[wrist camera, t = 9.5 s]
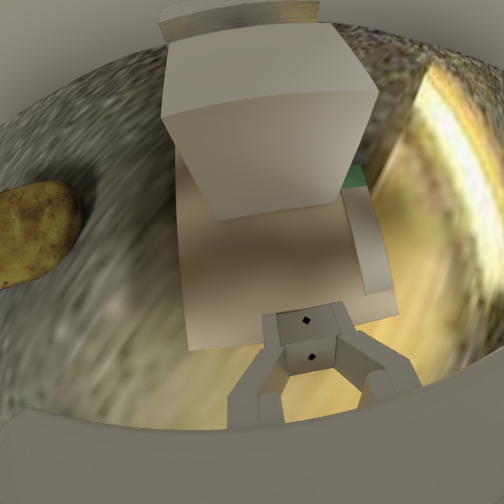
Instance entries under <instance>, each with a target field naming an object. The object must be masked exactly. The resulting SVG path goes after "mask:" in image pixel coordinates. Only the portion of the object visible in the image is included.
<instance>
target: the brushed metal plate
mask: <svg viewBox="0 0 504 504" xmlns="http://www.w3.org/2000/svg"><path fill="white" fill-rule="evenodd" d="M318 15H319V0H190V1H185V2H181V3H178V4H174V5H170V6H167V7H164V8H163V9H162V11H161V14H160V18H159V21H158V24H159V27H160V30H161V32H162V35H163V37H164V40H165V42H166V45H167V48H168V50H169V44H170V43H171V42H175V41H178V40H182V39H186V38H190V37H194V36H199V35H203V34H208V33H213V32H218V31H224V30H230V29H236V28H243V27H251V26H260V25H272V24H287V23H318Z"/></svg>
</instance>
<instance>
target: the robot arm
mask: <svg viewBox="0 0 504 504" xmlns="http://www.w3.org/2000/svg"><path fill="white" fill-rule="evenodd" d="M262 327H263V336H264V346H265V349H260V351H259V352H258V354H257V355H256V357H255V358H254V360H253V361H252V363H251V364H250V365H249V367H248V368H247V370H246V371H245V373H244V374H243V376H242V377H241V378H240V380H239V381H238V383H237V384H236V385H235V387H234V388H233V390H232V391H231V392H230V394H229V395H228V406H227V429H221V430H166V429H149V428H137V427H128V426H119V425H112V424H105V423H99V422H93V421H88V420H82V419H77V418H73V417H68V416H64V415H60V414H56V413H52V412H48V411H45V410H41V409H38V408H34V407H26V408H25V409H23V410H22V411H20V412H19V413H17V414H16V415H15V416H14V417H13V418H11V419H10V420H9V421H8V422H7V423H6V424H5V425H4V426H3V427H2V429H1V430H0V504H504V346H502V347H501V348H499V349H497V350H496V351H494V352H492V353H491V354H489V355H487V356H485V357H484V358H482V359H480V360H478V361H476V362H474V363H472V364H471V365H469V366H467V367H465V368H463V369H461V370H459V371H457V372H455V373H452V374H450V375H448V376H446V377H444V378H441V379H439V380H437V381H435V382H432V383H430V384H427V385H425V386H422V384H421V382H420V380H419V378H418V376H417V374H416V372H415V370H414V368H413V366H412V364H411V362H410V360H409V359H408V358H406V357H404V356H403V355H401V354H399V353H397V352H396V351H394V350H392V349H391V348H389V347H387V346H386V345H384V344H382V343H381V342H379V341H377V340H376V339H374V338H372V337H371V336H369V335H367V334H366V333H364V332H362V331H361V330H359V331H356V329H355V327H354V325H353V322H352V320H351V318H350V316H349V314H348V311H347V309H346V307H345V305H344V303H343V302H342V301H338V302H333V303H329V304H325V305H320V306H314V307H309V308H304V309H298V310H292V311H285V312H278V313H273V314H265V315H262ZM329 368H334V369H335V370H337V371H338V372H339V373H340V374H341V375H342V376H343V377H345V378H346V379H347V380H348V381H349V382H350V383H351V384H353V385H354V386H355V387H356V388H357V389H358V390H359V391H361V392H362V395H361V398H360V401H359V404H358V407H357V408H356V409H353V410H349V411H345V412H341V413H337V414H332V415H328V416H323V417H318V418H313V419H308V420H303V421H297V422H291V423H285V420H284V414H283V408H282V402H281V394H282V392H283V390H284V388H285V386H286V384H287V382H288V380H289V378H290V377H289V376H293V375H298V374H303V373H308V372H312V371H318V370H324V369H329Z"/></svg>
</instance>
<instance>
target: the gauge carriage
mask: <svg viewBox="0 0 504 504" xmlns="http://www.w3.org/2000/svg"><path fill="white" fill-rule="evenodd" d="M378 93H379V90H378V88H377V87H376V85H375V84H374V82H373V80H372V79H371V77H370V76H369V74H368V73H367V71H366V70H365V68H364V67H363V65H362V64H361V63H360V61H359V60H358V58H357V57H356V56H355V54H354V53H353V51H352V50H351V49H350V47H349V46H348V45H347V43H346V42H345V41H344V40H343V38H342V37H341V36H340V35H339V33H338V32H337V31H336V30H335V28H334V27H333V26H332V25H331V24H330V23H287V24H272V25H260V26H251V27H243V28H236V29H230V30H224V31H218V32H213V33H208V34H203V35H199V36H194V37H190V38H186V39H182V40H178V41H175V42H171V43H170V44H169V50H168V57H167V64H166V71H165V79H164V88H163V97H162V108H161V119H162V121H163V123H164V125H165V127H166V129H167V130H168V132H169V134H170V136H171V138H172V140H173V142H174V143H175V145H176V147H177V149H178V151H179V153H180V155H181V156H182V158H183V160H184V162H185V164H186V166H187V167H188V169H189V171H190V173H191V175H192V177H193V178H194V180H195V182H196V184H197V186H198V188H199V189H200V191H201V193H202V195H203V197H204V198H205V200H206V202H207V204H208V206H209V208H210V209H211V211H212V213H213V215H214V217H215V218H216V220H217V221H221V220H226V219H232V218H238V217H244V216H250V215H256V214H262V213H269V212H275V211H281V210H288V209H295V208H301V207H308V206H315V205H323V204H330V203H334V202H335V200H336V198H337V196H338V193H339V191H340V189H341V186H342V184H343V182H344V179H345V177H346V175H347V172H348V170H349V168H350V165H358V164H367V162H368V160H369V157H368V155H367V152H364V153H356V151H357V148H358V146H359V143H360V141H361V138H362V136H363V133H364V131H365V128H366V125H367V123H368V120H369V118H370V115H371V112H372V110H373V107H374V104H375V102H376V99H377V96H378Z"/></svg>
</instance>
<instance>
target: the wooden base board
mask: <svg viewBox="0 0 504 504" xmlns="http://www.w3.org/2000/svg"><path fill="white" fill-rule="evenodd" d="M175 176H176V212H177V232H178V249H179V263H180V275H181V286H182V296H183V306H184V315H185V323H186V332H187V339H188V347H189V351H194V350H206V349H216V348H226V347H234V346H243V345H250V344H258V343H264V336H263V327H262V315H265V314H273V313H278V312H285V311H292V310H298V309H304V308H309V307H314V306H320V305H325V304H329V303H333V302H338V301H342V302H343V303H344V305H345V307H346V309H347V311H348V314H349V316H350V318H351V320H352V322H353V325H354V326H356V325H360V324H364V323H368V322H373V321H377V320H380V319H384V318H388V317H392V316H396V315H399V313H398V307H397V301H396V296H395V291H394V285H393V281H392V276H391V271H390V267H389V262H388V258H387V254H386V250H385V246H384V242H383V238H382V235H381V231H380V227H379V224H378V220H377V217H376V213H375V210H374V207H373V204H372V200H371V197H370V194H369V191H368V188H367V186H368V185H367V182H366V179H365V177H364V174H363V171H362V168H361V165H360V164H358V165H350V168H349V170H348V172H347V175H346V177H345V179H344V182H343V184H342V186H341V189H340V191H339V193H338V196H337V198H336V200H335V202H334V203H330V204H323V205H315V206H308V207H301V208H295V209H288V210H281V211H275V212H269V213H262V214H256V215H250V216H244V217H238V218H232V219H226V220H221V221H217V220H216V218H215V217H214V215H213V213H212V211H211V209H210V208H209V206H208V204H207V202H206V200H205V198H204V197H203V195H202V193H201V191H200V189H199V188H198V186H197V184H196V182H195V180H194V178H193V177H192V175H191V173H190V171H189V169H188V167H187V166H186V164H185V162H184V160H183V158H182V156H181V155H180V153H179V151H178V149H177V147H176V145H175Z"/></svg>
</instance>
